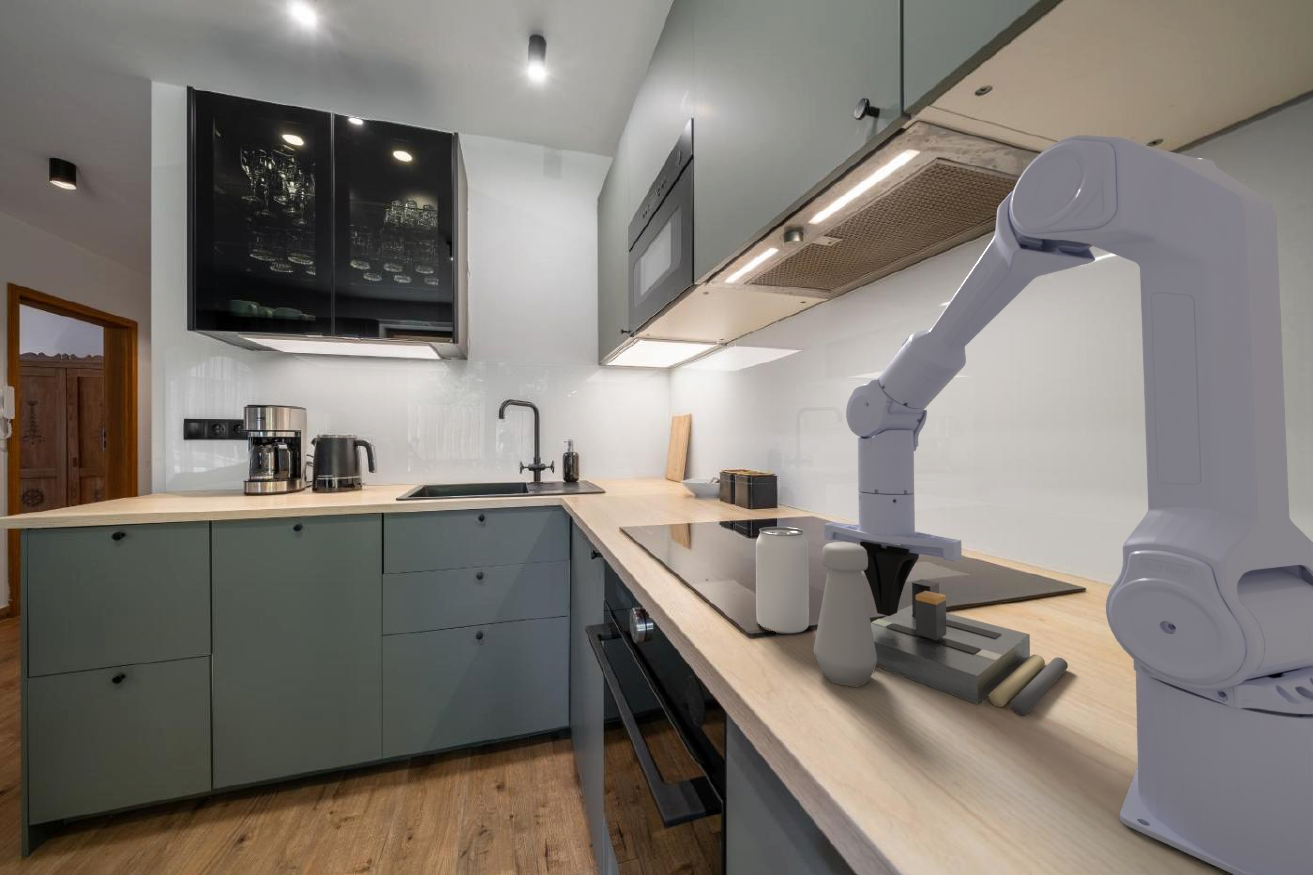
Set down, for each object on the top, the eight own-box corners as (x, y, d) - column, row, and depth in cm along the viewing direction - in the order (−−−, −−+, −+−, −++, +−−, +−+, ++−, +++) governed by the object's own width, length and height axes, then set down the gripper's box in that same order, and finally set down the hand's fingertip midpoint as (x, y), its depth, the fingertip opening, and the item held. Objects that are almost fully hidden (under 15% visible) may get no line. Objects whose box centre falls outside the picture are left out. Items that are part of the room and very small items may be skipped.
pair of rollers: (1069, 670, 47) (1069, 658, 47) (1028, 717, 39) (1027, 703, 39) (1034, 660, 49) (1034, 648, 50) (988, 703, 41) (988, 689, 41)
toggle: (946, 634, 49) (945, 595, 49) (936, 640, 48) (936, 599, 48) (926, 628, 51) (925, 590, 51) (916, 634, 49) (915, 594, 49)
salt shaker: (838, 695, 43) (837, 552, 43) (802, 666, 48) (801, 540, 48) (891, 686, 44) (890, 548, 44) (850, 659, 50) (849, 537, 50)
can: (819, 632, 57) (818, 533, 57) (771, 637, 55) (770, 536, 56) (791, 614, 63) (791, 525, 64) (747, 618, 62) (747, 527, 62)
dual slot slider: (1030, 657, 50) (1028, 596, 50) (977, 704, 41) (976, 629, 41) (913, 624, 60) (912, 572, 60) (849, 656, 50) (849, 595, 51)
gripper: (972, 495, 50) (974, 623, 50) (845, 486, 61) (846, 590, 61) (944, 499, 46) (946, 640, 45) (814, 489, 57) (814, 601, 57)
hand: (887, 612), depth 53 cm, fingers closed
